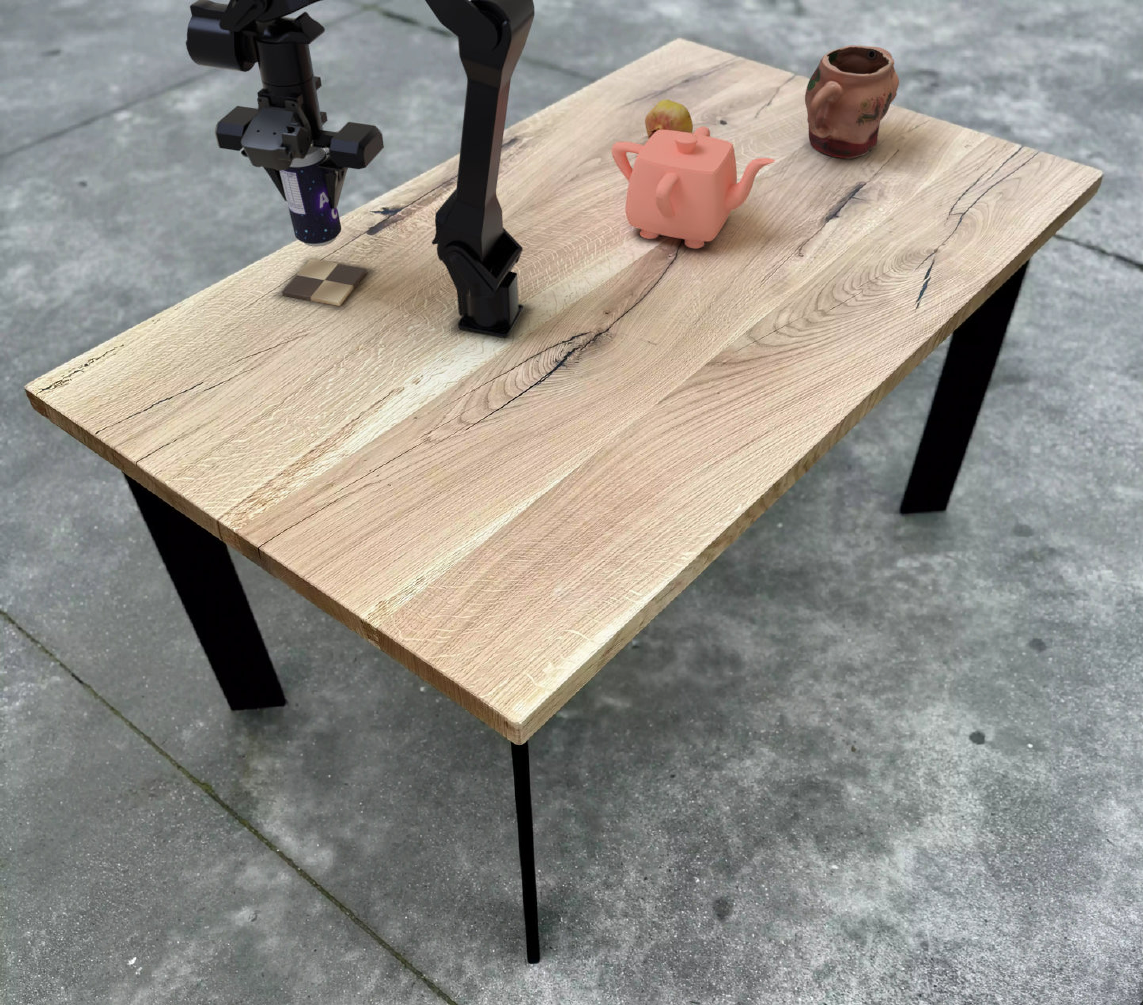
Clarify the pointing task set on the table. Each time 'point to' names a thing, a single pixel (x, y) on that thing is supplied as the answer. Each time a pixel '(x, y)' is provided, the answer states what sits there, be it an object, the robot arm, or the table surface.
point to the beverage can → (310, 200)
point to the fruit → (668, 118)
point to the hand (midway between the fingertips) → (311, 203)
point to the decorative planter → (849, 99)
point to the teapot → (683, 184)
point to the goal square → (324, 282)
